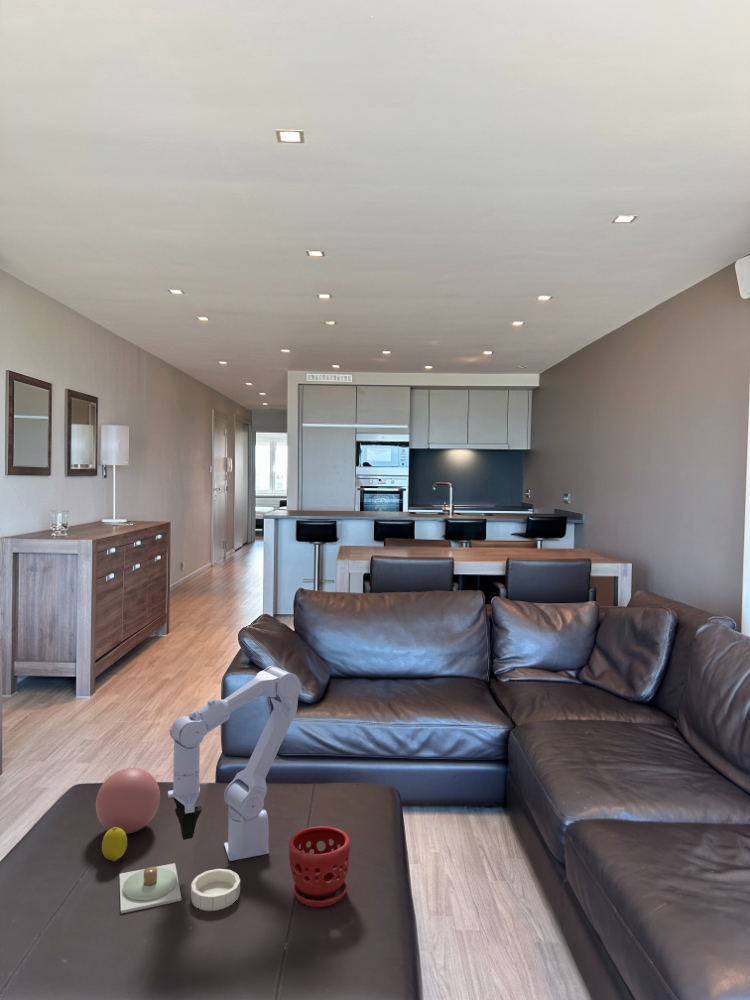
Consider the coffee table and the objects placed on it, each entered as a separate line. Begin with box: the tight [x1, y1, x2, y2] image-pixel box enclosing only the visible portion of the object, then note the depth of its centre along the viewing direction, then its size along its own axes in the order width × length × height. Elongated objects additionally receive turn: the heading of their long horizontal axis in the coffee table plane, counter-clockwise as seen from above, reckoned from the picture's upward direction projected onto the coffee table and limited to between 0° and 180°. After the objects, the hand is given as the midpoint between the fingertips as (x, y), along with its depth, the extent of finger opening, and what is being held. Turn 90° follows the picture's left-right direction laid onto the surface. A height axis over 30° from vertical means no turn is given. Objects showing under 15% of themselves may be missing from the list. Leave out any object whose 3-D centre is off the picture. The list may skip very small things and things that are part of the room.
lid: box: [123, 866, 178, 901], centre depth 144 cm, size 11×11×3 cm
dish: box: [190, 868, 241, 912], centre depth 141 cm, size 10×10×3 cm
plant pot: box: [288, 825, 351, 908], centre depth 142 cm, size 13×13×12 cm
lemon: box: [101, 827, 128, 862], centre depth 154 cm, size 6×6×8 cm
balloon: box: [95, 767, 161, 835], centre depth 170 cm, size 15×20×15 cm
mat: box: [119, 862, 182, 914], centre depth 144 cm, size 12×14×1 cm
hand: (185, 830), depth 150 cm, fingers open, 7 cm apart
